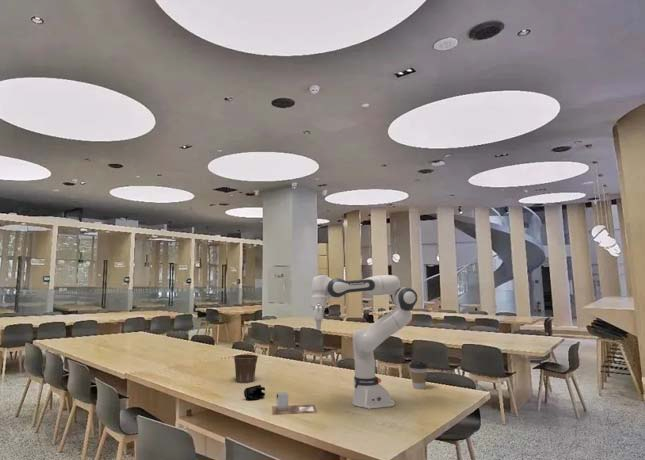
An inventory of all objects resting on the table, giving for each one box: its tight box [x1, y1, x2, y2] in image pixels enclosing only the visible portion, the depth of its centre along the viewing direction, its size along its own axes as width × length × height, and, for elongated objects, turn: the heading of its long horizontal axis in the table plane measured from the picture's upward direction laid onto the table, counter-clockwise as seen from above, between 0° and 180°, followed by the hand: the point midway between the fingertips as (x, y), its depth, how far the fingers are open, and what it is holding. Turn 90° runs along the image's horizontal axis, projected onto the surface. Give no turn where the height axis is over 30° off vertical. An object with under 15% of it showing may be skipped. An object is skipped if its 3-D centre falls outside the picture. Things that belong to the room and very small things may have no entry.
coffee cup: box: [408, 361, 428, 390], centre depth 251 cm, size 11×11×15 cm
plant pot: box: [233, 353, 259, 384], centre depth 270 cm, size 16×16×16 cm
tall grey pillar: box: [276, 391, 289, 411], centre depth 203 cm, size 5×5×8 cm
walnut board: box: [271, 404, 318, 416], centre depth 203 cm, size 22×14×8 cm, turn 97°
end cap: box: [243, 384, 266, 402], centre depth 227 cm, size 10×7×7 cm
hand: (318, 329), depth 218 cm, fingers open, 8 cm apart
